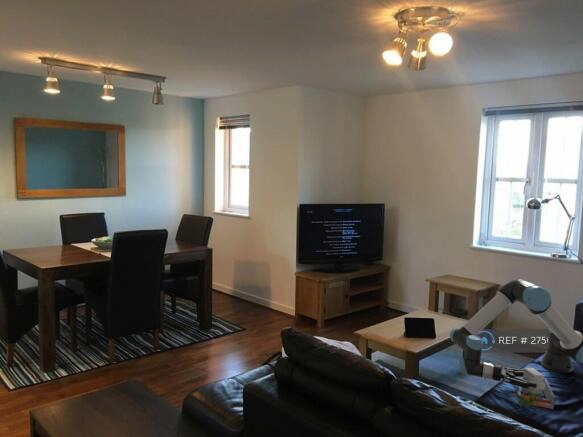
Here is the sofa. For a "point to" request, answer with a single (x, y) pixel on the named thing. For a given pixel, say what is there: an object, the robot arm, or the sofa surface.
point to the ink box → (534, 376)
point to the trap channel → (542, 402)
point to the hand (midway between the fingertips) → (543, 382)
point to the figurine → (525, 399)
